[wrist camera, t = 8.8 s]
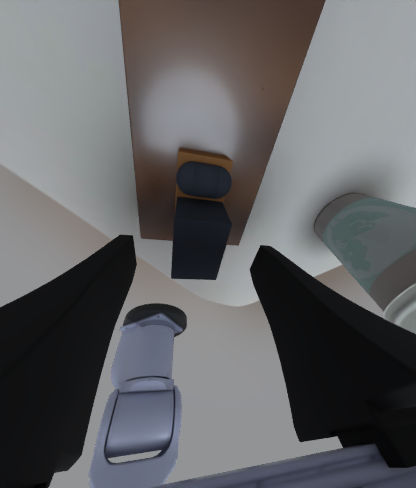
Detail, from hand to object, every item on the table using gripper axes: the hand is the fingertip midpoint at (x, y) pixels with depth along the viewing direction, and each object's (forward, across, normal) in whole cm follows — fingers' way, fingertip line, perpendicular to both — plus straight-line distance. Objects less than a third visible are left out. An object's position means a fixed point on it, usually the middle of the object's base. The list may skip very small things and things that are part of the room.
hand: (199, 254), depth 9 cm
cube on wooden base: (+5, 0, -1) cm, 5 cm away
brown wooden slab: (+8, 0, -17) cm, 19 cm away
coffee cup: (+8, -17, 0) cm, 19 cm away
